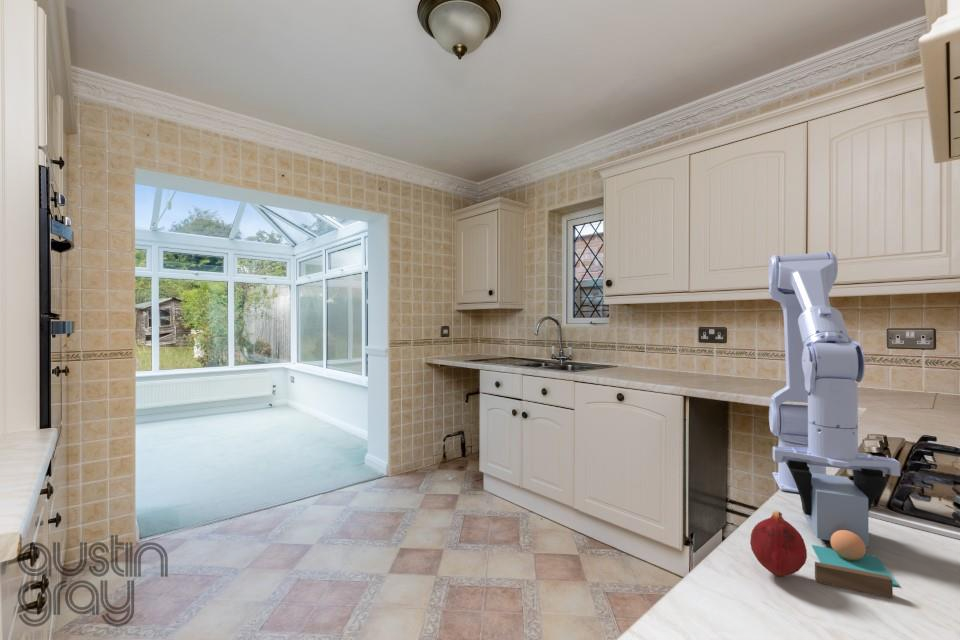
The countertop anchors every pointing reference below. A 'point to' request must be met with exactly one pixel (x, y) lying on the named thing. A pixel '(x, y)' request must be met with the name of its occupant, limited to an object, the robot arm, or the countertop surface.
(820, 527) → the matte gray cuboid
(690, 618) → the countertop surface
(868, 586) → the brown cuboid
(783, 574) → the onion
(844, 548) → the egg
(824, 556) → the mark
